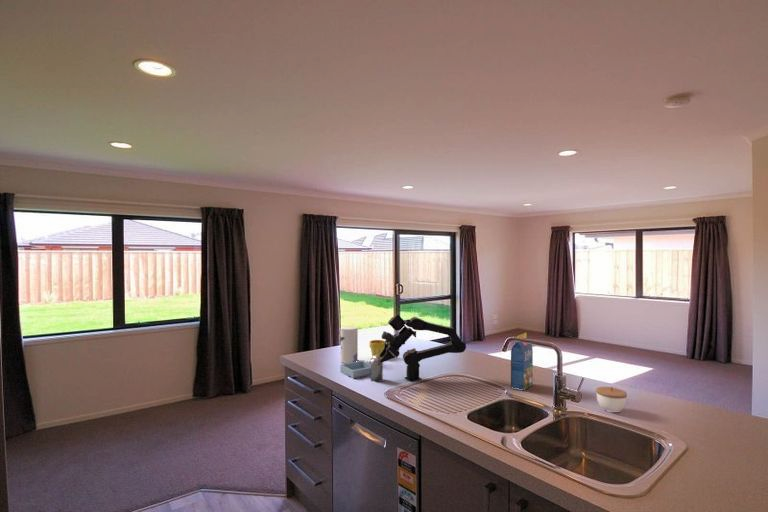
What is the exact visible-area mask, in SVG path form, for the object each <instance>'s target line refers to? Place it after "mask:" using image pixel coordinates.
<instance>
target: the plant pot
mask: <svg viewBox="0 0 768 512" xmlns="http://www.w3.org/2000/svg"><path fill="white" fill-rule="evenodd" d="M385 343H387V342H385V339H373V340H370V341H369V348H370V352H371V355H372V356H371V358H373V356H375V355H380V354H381V352H382V350H383V349H384V347H385ZM381 358H383V357H381Z"/></svg>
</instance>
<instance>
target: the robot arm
mask: <svg viewBox="0 0 768 512" xmlns="http://www.w3.org/2000/svg"><path fill="white" fill-rule="evenodd" d="M387 324H388V325H389V326H390V327H391V328H392V329H393V330H394V331H396V332H397V331H398V332H397V333H395V334H392V333H390V332H389V331H388V332H387V331H385V330H383V333H382V334H381V340H384V341H385V342H386V343H385V347H384V349H383V350H382V352H381V354H380V355H379V356H380V357H383V358H382V359H381V361H380V362H381V363H382V362H383V363H385V362H387V361H390V360H394V359H395V358H399V356H400V349H401V347H402V346H404V345H406V342H407V341H408V340H409V339H410V338H411V337H414V338H417V331H430V332H432V333H433V332H434V333H438V334H443V335H446V336H448V337H449V339H450V341H449V342H447V343H446V344H442V345H439V346H435V347H431V348H430V347H429V348H427V349H422V350H417V349H416V348H415V347H414V348H412V349H411V348H410V349H407V350H406V351H404V352H403V355H402V360H403V361H404V363H405V365H406V376H405V377H404V379H406V380H407V381H410V382H417V381H420V380H422V379H423V378H422V377H420V367H421V365H420V363H419V362H421V361H423V360H425V359H429V358H430V359H431V358H433V357H437V356H441V355H446V354H450V353H451V354H460V353H461V354H462V353H464V352H465V350H466V348H467V345H466V343H465V342H464V341H463V340H462V339H461V338H460V336H459V335H458V333H457V332H456V329H454V328H453V327H452V326H445V325H440V324H437V323H432V322H429V321H425V320H424V319H422V318H419V317H417V316H412V317H411V318H410V319H403V318H402V317H401V316H400V315H399V314H398V313H396V314H395V315H394V316H392V317H391V318H390V319H389V320H388V321H387Z"/></svg>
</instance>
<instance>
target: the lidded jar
mask: <svg viewBox="0 0 768 512" xmlns="http://www.w3.org/2000/svg"><path fill="white" fill-rule="evenodd" d="M595 392H596V400H597V401H596V402H597V403H598V405H599V406H600V407H601V408H602V410H603V409H606V410H610V411H620V412H621V411H623V410H624V408H625V407H626V404H627V396H628V394H627V392H626V391H625V390H622V389H620V388H617V387H613V386H599V387H597V388H595Z"/></svg>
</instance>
